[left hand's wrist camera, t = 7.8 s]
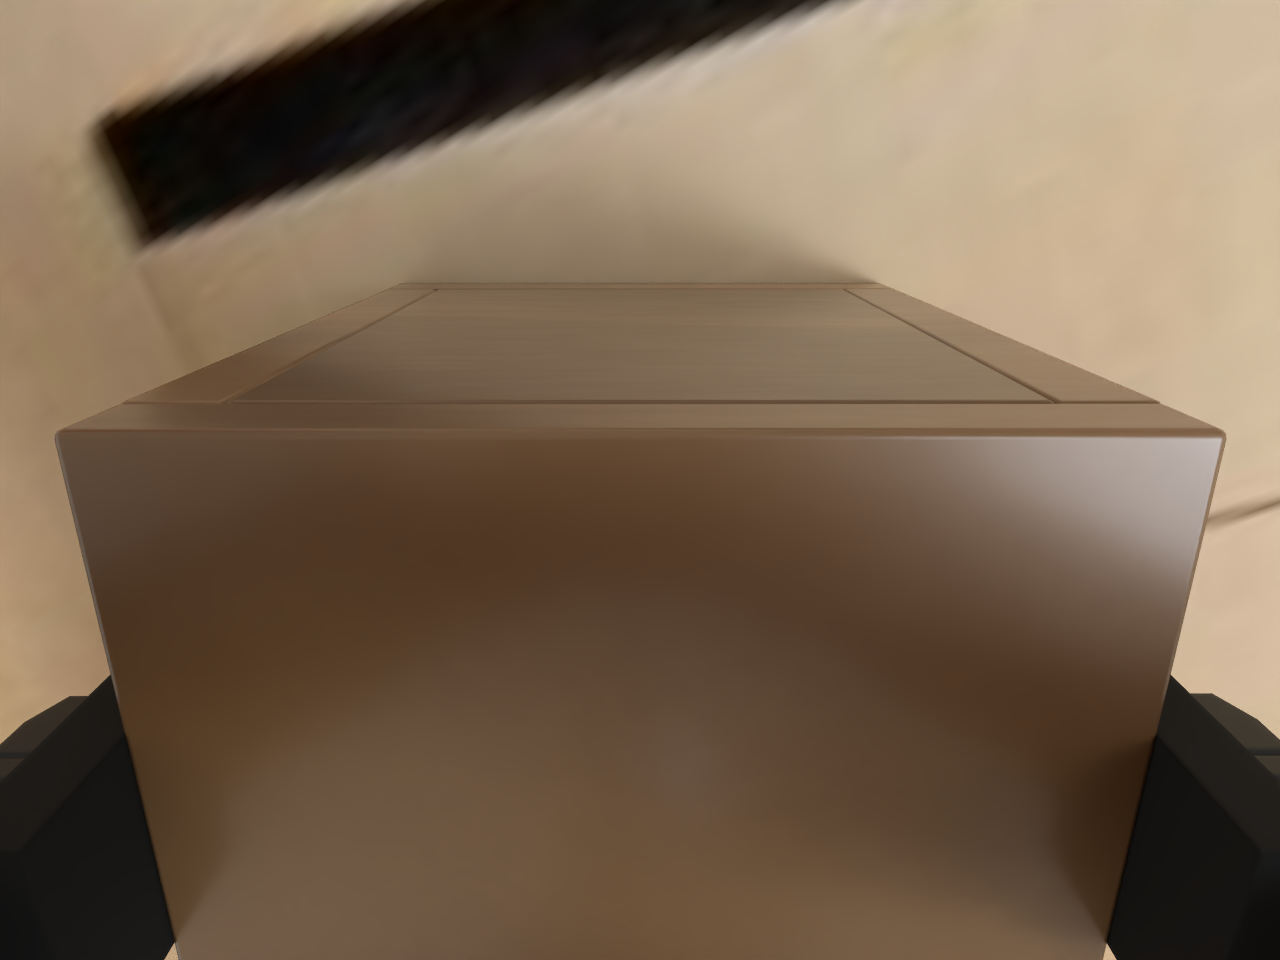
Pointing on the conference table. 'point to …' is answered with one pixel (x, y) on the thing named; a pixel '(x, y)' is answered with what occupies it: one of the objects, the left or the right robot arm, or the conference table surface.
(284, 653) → the cabinet
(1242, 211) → the conference table surface
